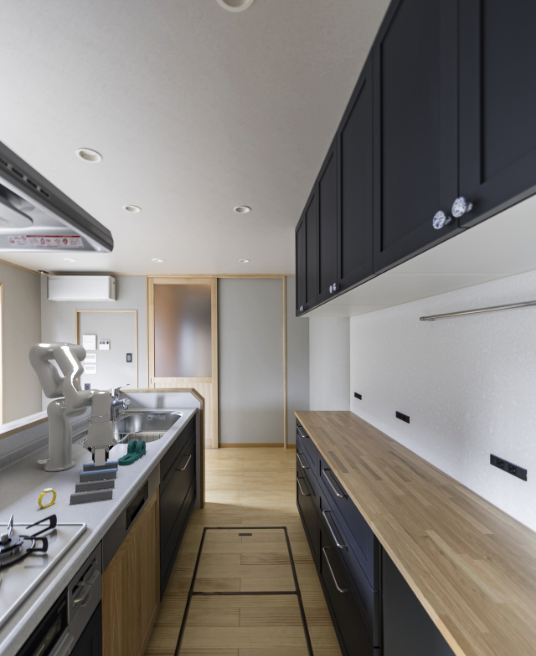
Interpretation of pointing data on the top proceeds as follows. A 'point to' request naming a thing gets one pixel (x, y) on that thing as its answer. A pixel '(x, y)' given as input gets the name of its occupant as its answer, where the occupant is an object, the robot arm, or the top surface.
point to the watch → (44, 494)
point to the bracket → (133, 453)
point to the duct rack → (95, 482)
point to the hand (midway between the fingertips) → (100, 460)
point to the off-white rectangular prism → (100, 455)
